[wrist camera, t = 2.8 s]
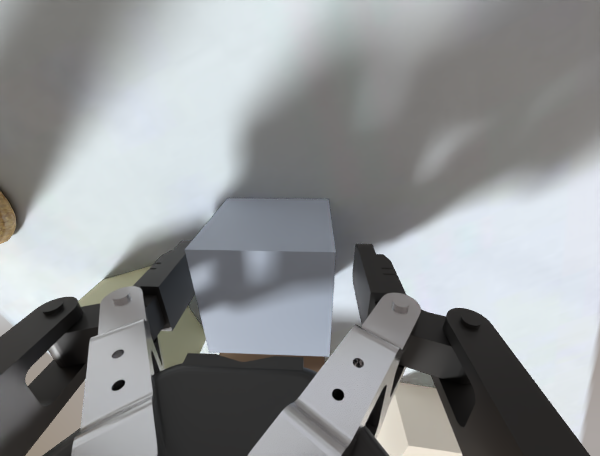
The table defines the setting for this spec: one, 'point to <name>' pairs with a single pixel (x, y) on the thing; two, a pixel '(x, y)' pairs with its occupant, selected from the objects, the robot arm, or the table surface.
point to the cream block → (417, 424)
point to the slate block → (266, 276)
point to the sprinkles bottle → (6, 219)
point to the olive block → (172, 343)
